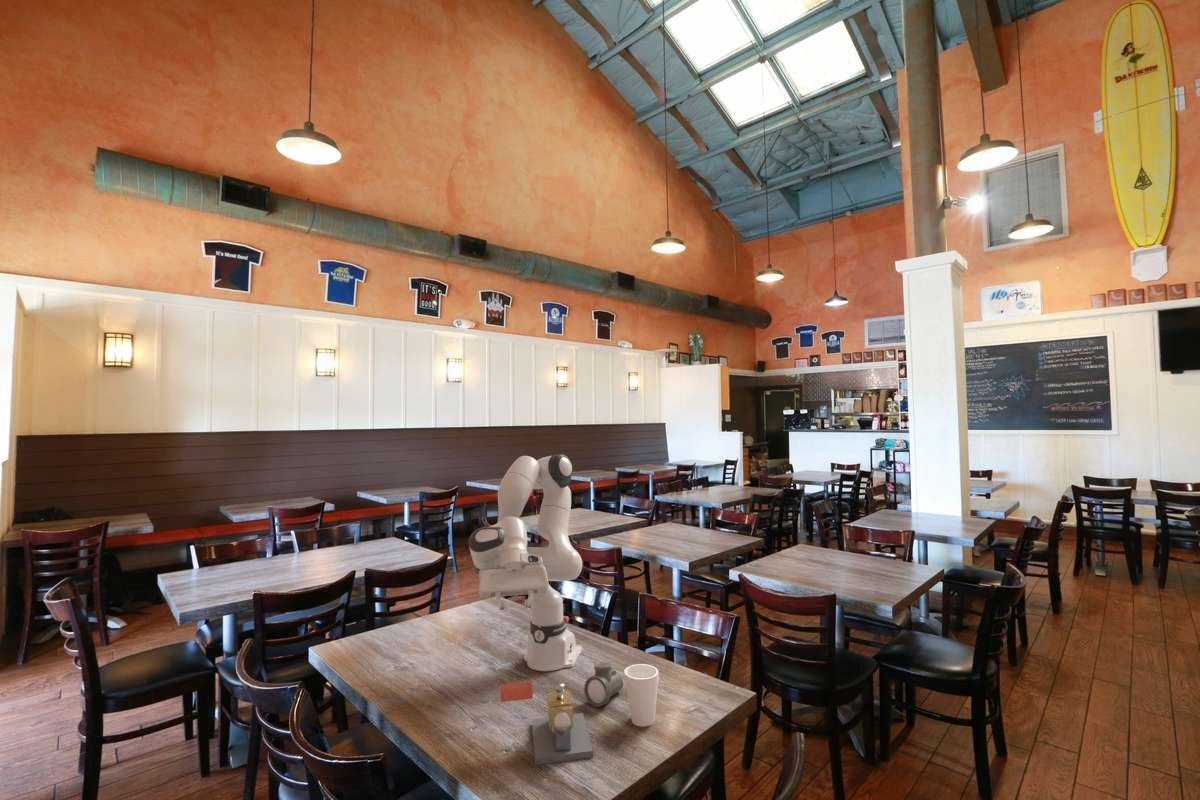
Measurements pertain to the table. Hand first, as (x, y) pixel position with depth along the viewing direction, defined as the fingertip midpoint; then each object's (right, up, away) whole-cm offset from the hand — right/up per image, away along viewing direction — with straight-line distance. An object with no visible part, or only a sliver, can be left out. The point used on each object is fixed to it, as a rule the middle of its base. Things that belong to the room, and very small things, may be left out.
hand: (514, 607), depth 154 cm
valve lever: (+7, -16, -16) cm, 24 cm away
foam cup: (+36, -28, -7) cm, 46 cm away
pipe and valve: (+14, -27, -15) cm, 34 cm away
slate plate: (+14, -28, -15) cm, 35 cm away
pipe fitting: (+26, -29, +6) cm, 40 cm away
